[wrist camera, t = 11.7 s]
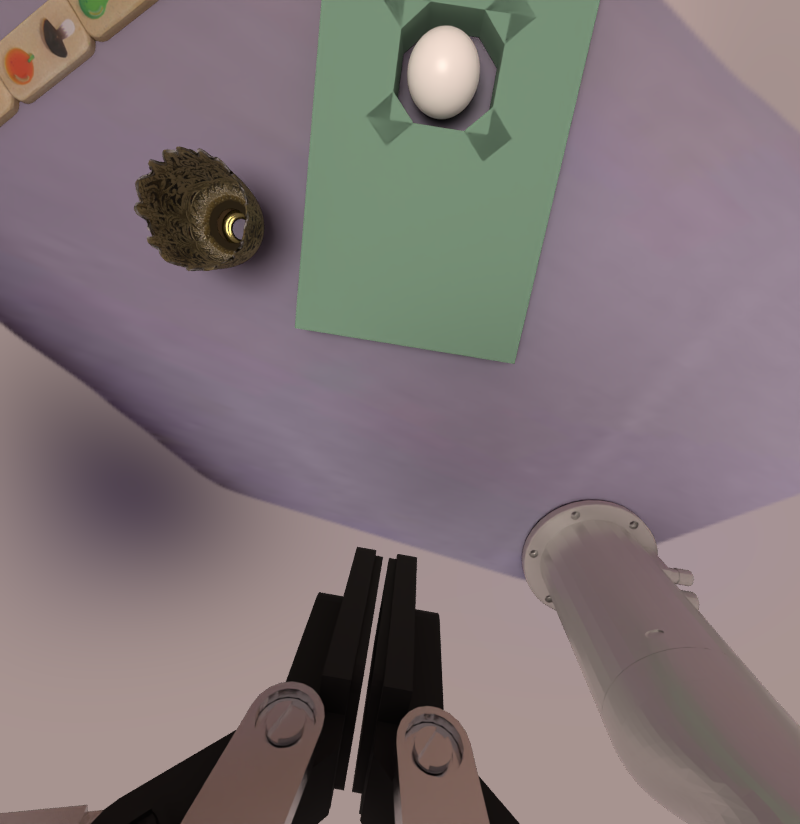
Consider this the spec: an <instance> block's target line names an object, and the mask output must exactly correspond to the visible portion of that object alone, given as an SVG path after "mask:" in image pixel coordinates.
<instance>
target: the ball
mask: <svg viewBox="0 0 800 824" xmlns="http://www.w3.org/2000/svg"><path fill="white" fill-rule="evenodd" d="M479 76H480V62H479V56H478V53H477V50H476V47H475V45H474V43H473V42H472V40H471V39H470V37H469V36H468V35H467V34H466V33H465V32H463V31H462V30H460V29H458V28H456V27H453V26H439V27H436V28H433V29H431V30H429V31H428V32H427V33H425V34H424V35H423V36H422V37H421V38H420V40H419V41H418V42H417V44H416V45H415V47H414V49H413V51H412V53H411V56H410V59H409V63H408V70H407V81H408V88H409V91H410V95H411V97H412V99H413V101H414V103H415V104H416V106H417V107H418V108H419V109H420V111H422V112H423V113H424V114H426V115H427V116H429V117H432V118H435V119H448V118H451V117H454V116H456V115H457V114H459V113H460V112H461V111H463V110H464V109H465V108H466V107H467V105H468V104H469V103H470V101H471V100H472V98H473V96H474V94H475V92H476V89H477V86H478V82H479Z"/></svg>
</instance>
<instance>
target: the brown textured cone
mask: <svg viewBox="0 0 800 824" xmlns="http://www.w3.org/2000/svg"><path fill="white" fill-rule="evenodd" d="M176 149H177V150H176V151H175V150H163V152H162V155H163V159H164V161H165V162H159V161H156V160H150V161H149V163H148V165H149V168H150V170H151V169H152V171H151V172H150V173H149V174H147V175H143V176H141V177H140V178H139V179H138V180H137V181H136V183H135V185H136V191H137V195H138V197H139V201H140V202H137V203H136V204H135V206H134V210H135V212H136V214H137V215H139V216H140V217H141V218H144V219H145V220H146V221H147V223H148V226H147V229H148V230H149V231H150V232H151V234H152V236H151V237H149V236H148V237H147V241H148V243H149V244H150V245H151V246H152V247H154V248H156V249H158V250H159V254H160V255H161V257H162V258H163V259H164V260H165V261H167V262H168V263H171V264H174V265H177V266H181V267H185V268H186V269H187V270H188V271H198V270H203V271H210V270H216V269H224V268H229V267H234V266H237V265H240V264H242V263H244V262H245V261H247V260H249V259H250V258H251V257H252V256H253V255H254V254H255V253H256V252H257V250H258V248H259V247H260V245H261V242H262V239H263V234H264V219H263V214H262V211H261V208H260V206H259V204H258V202H257V200H256V198H255V197H254V195H253V194H252V192H251V191H250V190H249V188H248V187H247V186H246V185H245V184H244V183H243V182H242V181H241V180H240V179H239V178H238V177H237V176H236V175H235V174H234V173H233V172H232V171H231V170H230V169H229V168H228V167H227V166H226V165H225V164H224V162H223V161H221V160H220V159H219V158H218V157H213V156H211V155H209V154H208V153H207V152H205V151H204V150H202V149H200V148H199V149H197V152H198V153H197V152H195V151H193V150H191V149H186V148H183V147H177V148H176ZM237 219H244V220H245V225H244V234H243V237H242V240H240V239H238V238H236V237H235V236H234V234H233V232H232V225H233V223H234V221H235V220H237Z"/></svg>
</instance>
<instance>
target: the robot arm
mask: <svg viewBox="0 0 800 824" xmlns="http://www.w3.org/2000/svg"><path fill="white" fill-rule="evenodd" d="M572 512H573V513H572ZM382 560H383V557H380V556H376V550H372V549H366V548H361V547H357V549H356V553H355V556H354V560H353V564H352V567H351V571H350V575H349V578H348V582H347V586H346V589H345V593H344V597H343V596H337V595H332V594H326V593H321V592H319V593H318V595H317V598H316V600H315V603H314V606H313V609H312V611H311V614H310V617H309V620H308V622H307V625H306V628H305V630H304V633H303V636H302V639H301V641H300V644H299V647H298V650H297V653H296V655H295V658H294V661H293V664H292V667H291V669H290V672H289V675H288V677H287V680H286V682H284V683H279V684H276V685H274V686H271V687H269V688H268V689H266V690H265V691H264V692H262V693H261V694H260V695H259V696H258V697H257V698H256V700H255V701H254V702H253V704H252V705H251V707H250V708H249V710H248V711H247V713H246V715H245V717H244V718H243V720H242V722H241V723H240V725H239V727H238V728H237V730H235V731H233V732H232V733H230V734H229V735H227V736H225V737H223V738H221V739H220V740H218V741H216V742H215V743H213V744H211V745H210V746H208V747H206V748H205V749H203V750H201V751H199V752H198V753H196V754H194V755H193V756H191V757H189V758H187V759H186V760H184V761H183V762H181V763H179V764H177V765H175V766H174V767H172V768H170V769H169V770H167V771H165V772H164V773H162V774H160V775H158V776H157V777H155V778H153V779H152V780H150V781H148V782H147V783H145V784H143V785H141V786H140V787H138V788H136V789H135V790H133V791H131V792H130V793H128V794H126V795H124V796H123V797H121V798H119V799H118V800H117V801H115V802H114V803H113V804H111V805H110V806H109V807H107V808H106V809H104V810H99V811H90V812H88V807H87V805H79V806H69V807H59V808H50V809H38V810H28V811H18V812H8V813H0V824H318V823H319V822H320V821H321V820H323V819H324V818H325V817H326V816H327V815H328V813H329V808H330V807H331V801H332V796H333V790H334V789H340V790H344V786H345V781H346V775H347V769H348V763H349V758H350V752H351V746H352V740H353V734H354V729H355V723H356V717H357V711H358V705H359V700H360V694H361V688H362V682H363V676H364V670H365V664H366V658H367V651H368V646H369V639H370V633H371V627H372V621H373V614H374V609H375V602H376V597H377V590H378V584H379V578H380V572H381V566H382ZM522 566H523V572H524V575H525V578H526V581H527V583H528V584H529V587H530V589H531V590H532V592H533V593H534V594H535V595H536V597H537V598H538V599H539V600H540V601H542V602H543V603H544V604H545V605H547V606H549V607H551V608H552V609H554V610H556V611H557V613H558V616H559V618H560V620H561V623H562V625H563V627H564V630H565V632H566V635H567V637H568V639H569V642H570V644H571V647H572V649H573V651H574V654H575V656H576V658H577V661H578V663H579V666H580V668H581V670H582V673H583V675H584V678H585V680H586V682H587V685H588V687H589V689H590V692H591V694H592V696H593V699H594V701H595V704H596V706H597V708H598V711H599V713H600V716H601V718H602V720H603V723H604V725H605V728H606V730H607V732H608V735H609V737H610V740H611V742H612V744H613V746H614V749H615V751H616V753H617V754H618V757H619V758H620V760H621V762H622V763H623V765H624V766H625V768H626V770H627V771H628V772H629V774H630V775H631V776H632V777H633V779H634V780H635V781H636V782H637V783H638V784H639V786H640V787H641V788H642V789H643V790H644V791H645V792H647V793H648V794H649V795H650V796H651V797H652V798H653V799H655V800H656V801H657V802H658V803H659V804H661V805H662V806H663V807H665V808H666V809H667V810H669V811H670V812H672V813H673V814H674V815H676V816H677V817H679V818H681V819H682V820H684V821H685V822H686V823H688V824H800V726H799V725H798V724H797V722H796V721H795V720H794V719H793V718H792V717H791V716H790V715H789V714H788V713H787V712H786V710H785V709H784V708H783V707H782V706H781V705H780V704H779V703H778V702H777V701H776V700H775V698H774V697H773V696H772V695H771V694H770V693H769V691H768V690H767V689H766V688H765V687H764V686H763V685H762V683H761V682H760V681H759V680H758V679H757V678H756V677H755V675H754V674H753V673H752V672H751V671H750V670H749V669H748V667H747V666H746V665H745V664H744V663H743V662H742V661H741V659H740V658H739V657H738V656H737V655H736V654H735V652H734V651H733V650H732V649H731V648H730V647H729V646H728V644H727V643H726V642H725V641H724V640H723V639H722V637H721V636H720V635H719V634H718V633H717V632H716V631H715V629H714V628H713V627H712V626H711V625H710V624H709V623H708V621H707V620H706V619H705V618H704V617H703V616H702V614H701V613H700V612H699V611H698V610H699V601H698V598H697V596H696V594H694V593H693V592H689V591H683V590H680V589H679V588H678V587H677V586H676V585H675V584H679V585H685V586H691V585H692V584H693V580H694V579H693V574H692V573H691V572H690V571H689V570H683V569H677V568H674V569H672V568H668V567H667V566H666V565H665V564H664V562H663V561H662V560H661V559H660V558H659V557H658V554H657V546H656V542H655V539H654V537H653V535H652V533H651V531H650V529H649V528H648V527H647V526H646V525H645V524H644V522H643V521H642V520H641V519H640V518H639V517H638V516H636V515H635V514H634V513H633V512H631V511H630V510H628V509H626V508H625V507H623V506H620V505H617V504H615V503H612V502H606V501H600V500H585V501H580V502H574V503H571V504H568V505H565V506H562V507H560V508H558V509H556V510H554V511H552V512H551V513H549V514H548V515H546V516H545V517H544V518H543V519H541V520H540V521H539V522H538V523H537V525H536V526H535V527H534V528H533V529H532V531H531V532H530V534H529V536H528V538H527V539H526V542H525V545H524V548H523V554H522ZM416 571H417V558H416V557H412V556H406V555H401V554H398V555H397V559H392V558H389V562H388V567H387V573H386V578H385V584H384V590H383V595H382V601H381V607H380V612H379V618H378V623H377V630H376V635H375V641H374V647H373V654H372V661H371V667H370V675H369V680H368V687H367V694H366V701H365V707H364V714H363V721H362V728H361V734H360V741H359V748H358V755H357V761H356V768H355V775H354V782H353V789H352V792H356V793H361V794H362V795H361V804H360V811H359V814H361V819H360V821H361V823H362V824H519V822H518V821H517V820H516V819H515V818H514V817H513V816H512V814H511V813H510V812H509V811H508V810H507V808H506V807H505V806H504V805H503V804H502V803H501V801H500V800H499V799H498V798H497V797H496V796H495V794H494V793H493V792H492V791H491V790H490V789H489V787H488V786H487V785H486V784H485V783H484V782H483V781H482V779H481V778H480V777H479V776H478V772H477V768H476V764H475V760H474V756H473V751H472V747H471V743H470V741H469V738H468V735H467V733H466V731H465V729H464V728H463V727H462V725H461V724H460V723H459V721H458V720H457V719H455V718H454V717H453V716H452V715H451V714H450V713H448V712H446V711H444V710H443V686H442V664H441V641H440V619H439V614H438V613H434V612H428V611H422V610H416V609H415V604H416Z"/></svg>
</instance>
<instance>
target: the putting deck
mask: <svg viewBox="0 0 800 824" xmlns="http://www.w3.org/2000/svg"><path fill="white" fill-rule="evenodd" d="M599 2H600V0H322V2H321V14H320V26H319V39H318V51H317V63H316V75H315V88H314V100H313V112H312V124H311V137H310V149H309V161H308V173H307V186H306V198H305V210H304V222H303V235H302V247H301V259H300V271H299V284H298V296H297V308H296V320H295V328H298V329H304V330H310V331H316V332H323V333H329V334H335V335H341V336H347V337H353V338H359V339H365V340H372V341H378V342H384V343H390V344H396V345H402V346H408V347H414V348H421V349H427V350H433V351H439V352H445V353H451V354H457V355H463V356H470V357H476V358H482V359H488V360H494V361H500V362H506V363H512V364H514V363H515V359H516V355H517V351H518V346H519V342H520V338H521V334H522V329H523V325H524V321H525V317H526V312H527V308H528V304H529V300H530V295H531V291H532V287H533V283H534V278H535V274H536V270H537V266H538V261H539V257H540V253H541V249H542V244H543V240H544V236H545V232H546V227H547V223H548V219H549V215H550V210H551V206H552V202H553V198H554V193H555V189H556V185H557V181H558V176H559V172H560V168H561V164H562V159H563V155H564V151H565V147H566V142H567V138H568V134H569V130H570V125H571V121H572V117H573V113H574V108H575V104H576V100H577V96H578V91H579V87H580V83H581V79H582V74H583V70H584V66H585V62H586V57H587V53H588V49H589V45H590V40H591V36H592V32H593V28H594V23H595V19H596V15H597V11H598V6H599ZM439 26H453V27H456V28H458V29H460V30H462V31H463V32H465V33H466V34H467V35H468V36H474V37H479V38H480V40H481V41H482V43H483V45H484V47H485V48H486V50H487V52H488V54H489V55H490V57H491V59H492V61H493V62H494V64H495V66H496V67H497V72H496V77H495V82H494V88H493V93H492V99H491V104H490V109H489V111H488V112H487V113H485V114H484V115H483V116H482V117H480V118H479V119H478V120H477V121H476V122H474V123H473V124H472V125H471V126H470V127H468V128H467V129H466V130H465V131H460V130H453V129H447V128H441V127H434V126H428V125H421V124H415V123H413V122H412V120H411V119H410V117H409V115H408V114H407V112H406V111H405V109H404V108H403V106H402V104H401V103H400V101H399V100H398V92H399V84H400V76H401V69H402V61H403V54H404V53H405V52H406V51H407V50H408V49H409V48H411V47H412V46H413V45H414V44H415V43H416V42H417V41H418V40H419V39H420V38H421V37H422V36H423V35H424V34H425V33H427V32H428V31H429V30H431V29H433V28H436V27H439Z"/></svg>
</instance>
